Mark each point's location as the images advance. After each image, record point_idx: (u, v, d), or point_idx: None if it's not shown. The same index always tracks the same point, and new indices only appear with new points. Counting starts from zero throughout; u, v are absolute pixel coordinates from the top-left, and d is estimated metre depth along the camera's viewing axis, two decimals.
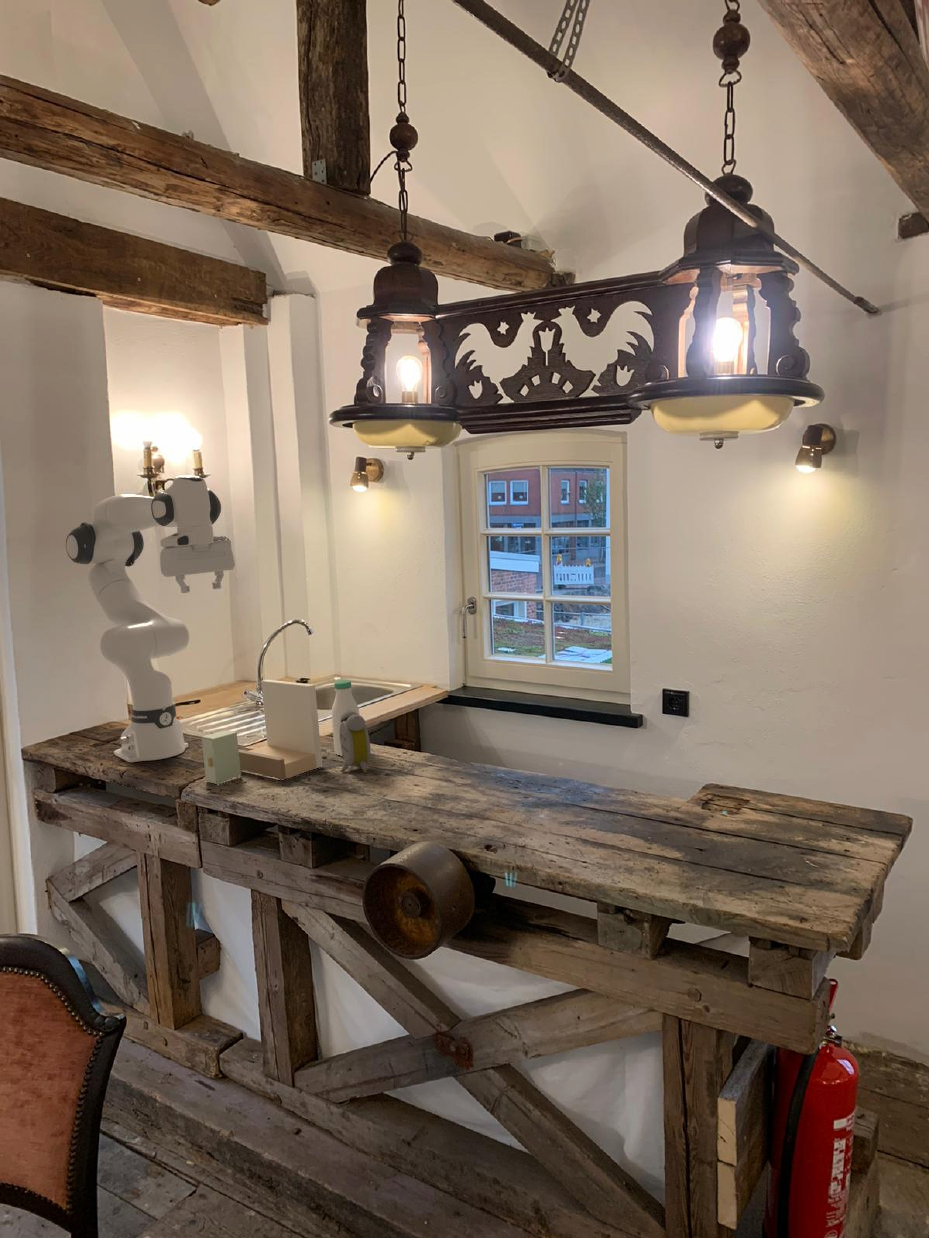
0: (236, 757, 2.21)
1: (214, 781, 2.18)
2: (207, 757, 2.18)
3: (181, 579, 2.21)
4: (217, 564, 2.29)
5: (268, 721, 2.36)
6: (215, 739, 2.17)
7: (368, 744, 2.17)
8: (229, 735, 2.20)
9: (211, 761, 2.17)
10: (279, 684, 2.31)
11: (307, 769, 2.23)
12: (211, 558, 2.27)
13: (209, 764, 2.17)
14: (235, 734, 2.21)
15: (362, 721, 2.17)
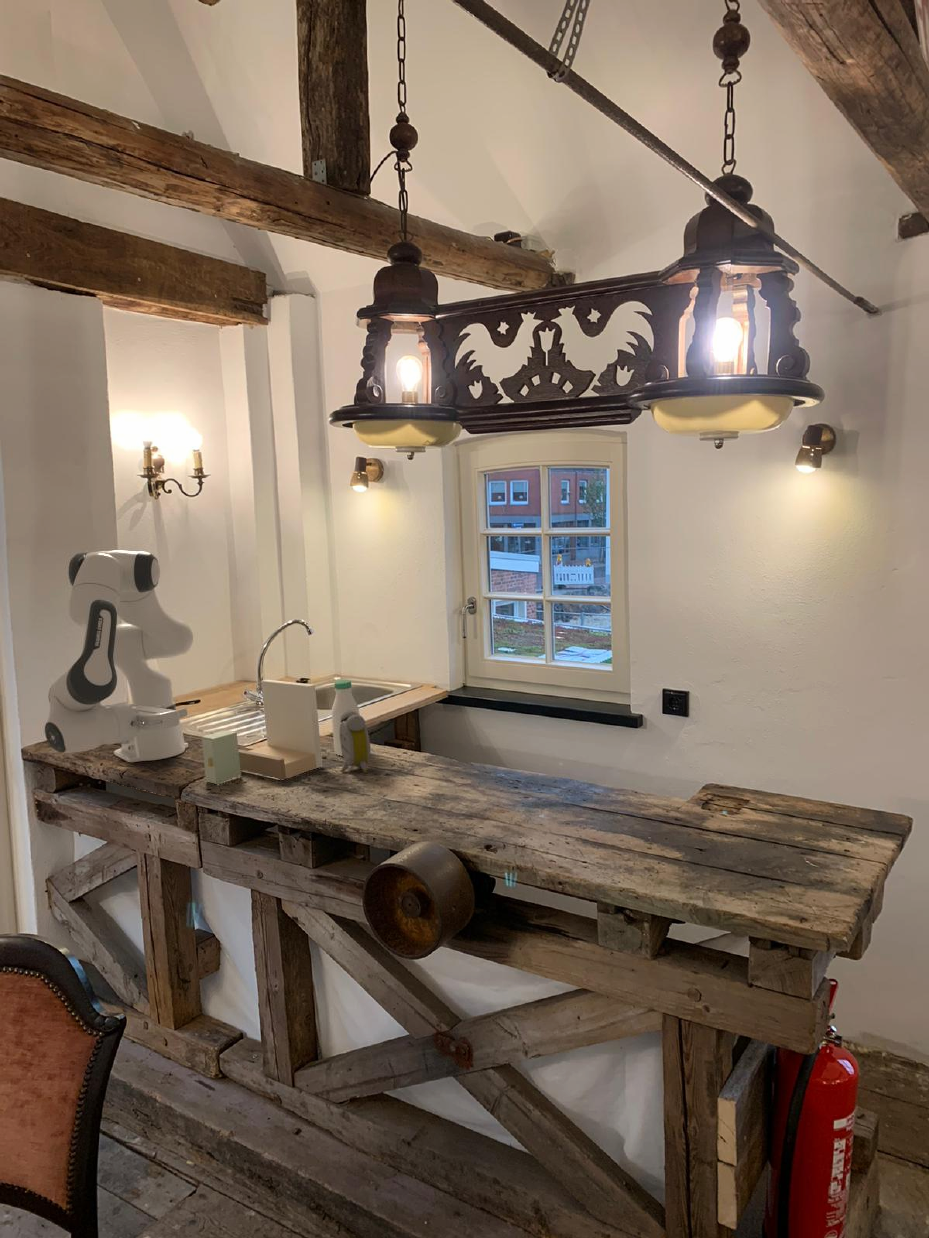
0: (236, 757, 2.21)
1: (214, 781, 2.18)
2: (207, 757, 2.18)
3: None
4: None
5: (268, 721, 2.36)
6: (215, 739, 2.17)
7: (368, 744, 2.17)
8: (229, 735, 2.20)
9: (211, 761, 2.17)
10: (279, 684, 2.31)
11: (307, 769, 2.23)
12: None
13: (209, 764, 2.17)
14: (235, 734, 2.21)
15: (362, 721, 2.17)
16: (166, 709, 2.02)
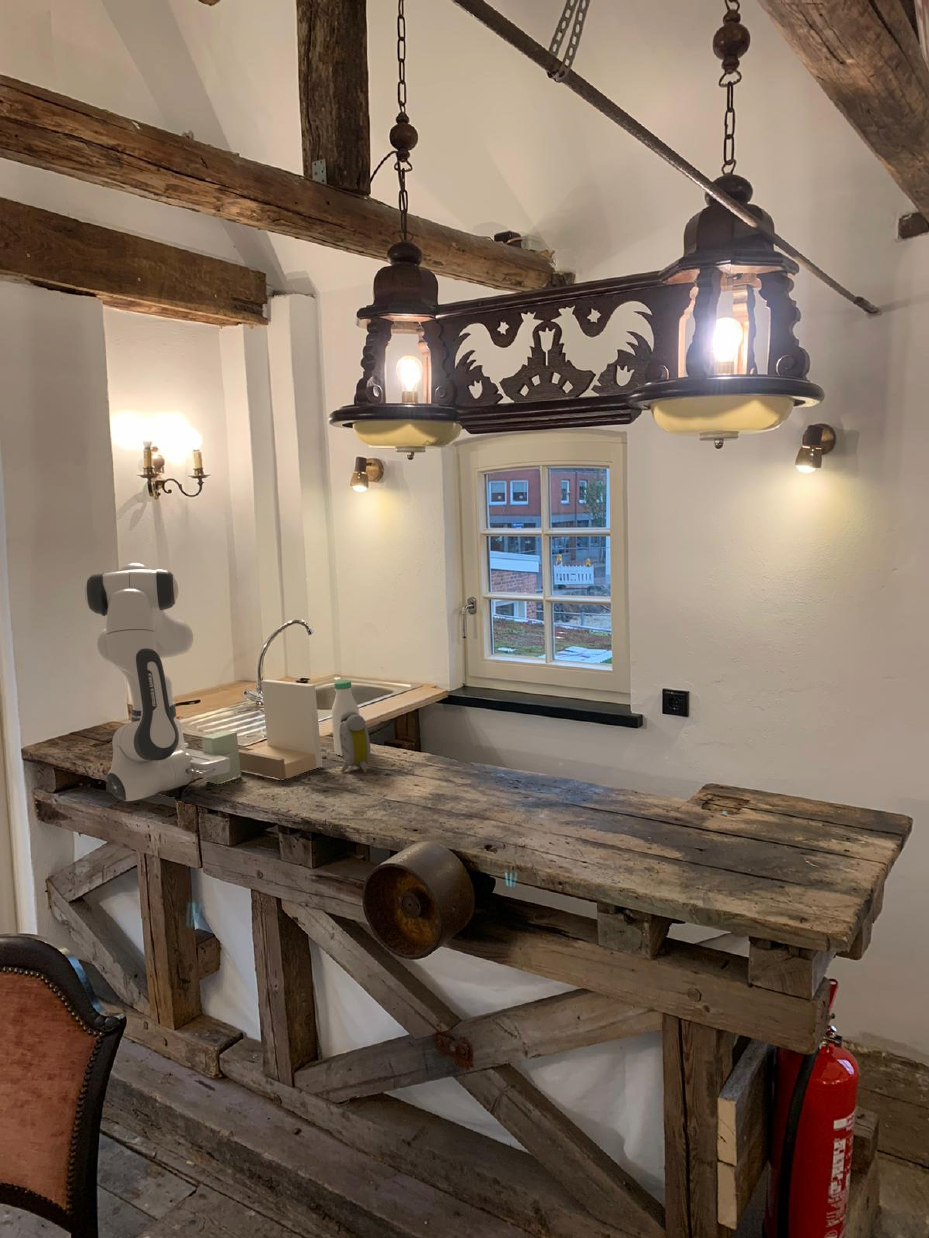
0: (236, 757, 2.21)
1: (214, 781, 2.18)
2: None
3: None
4: None
5: (268, 721, 2.36)
6: (215, 739, 2.17)
7: (368, 744, 2.17)
8: (229, 735, 2.20)
9: None
10: (279, 684, 2.31)
11: (307, 769, 2.23)
12: None
13: None
14: (235, 734, 2.21)
15: (362, 721, 2.17)
16: (218, 756, 2.13)
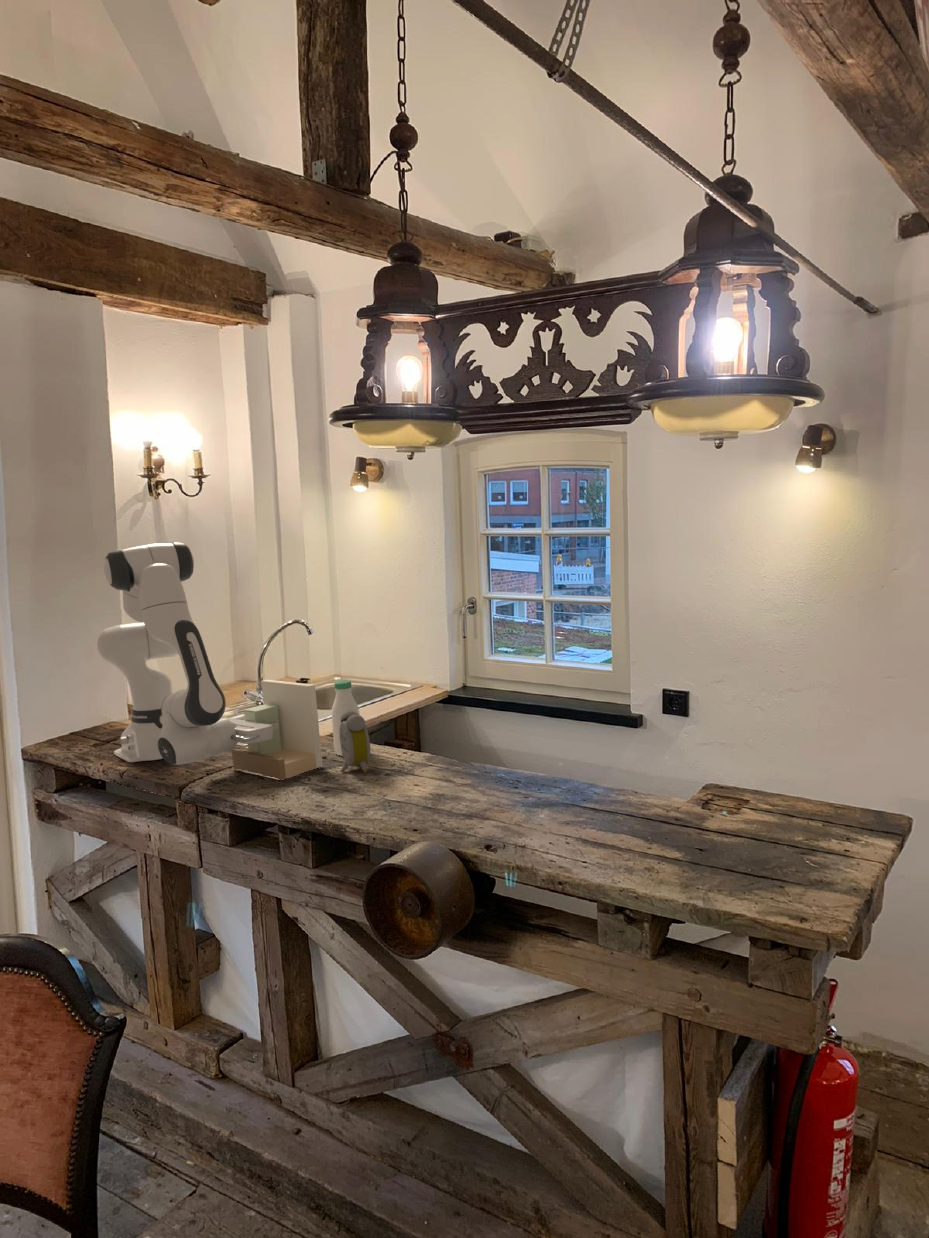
0: (277, 729, 2.31)
1: (256, 752, 2.27)
2: None
3: None
4: None
5: None
6: (257, 711, 2.26)
7: (368, 744, 2.17)
8: (270, 708, 2.29)
9: None
10: (279, 684, 2.31)
11: (307, 769, 2.23)
12: None
13: None
14: (276, 707, 2.31)
15: (362, 721, 2.17)
16: (261, 723, 2.23)
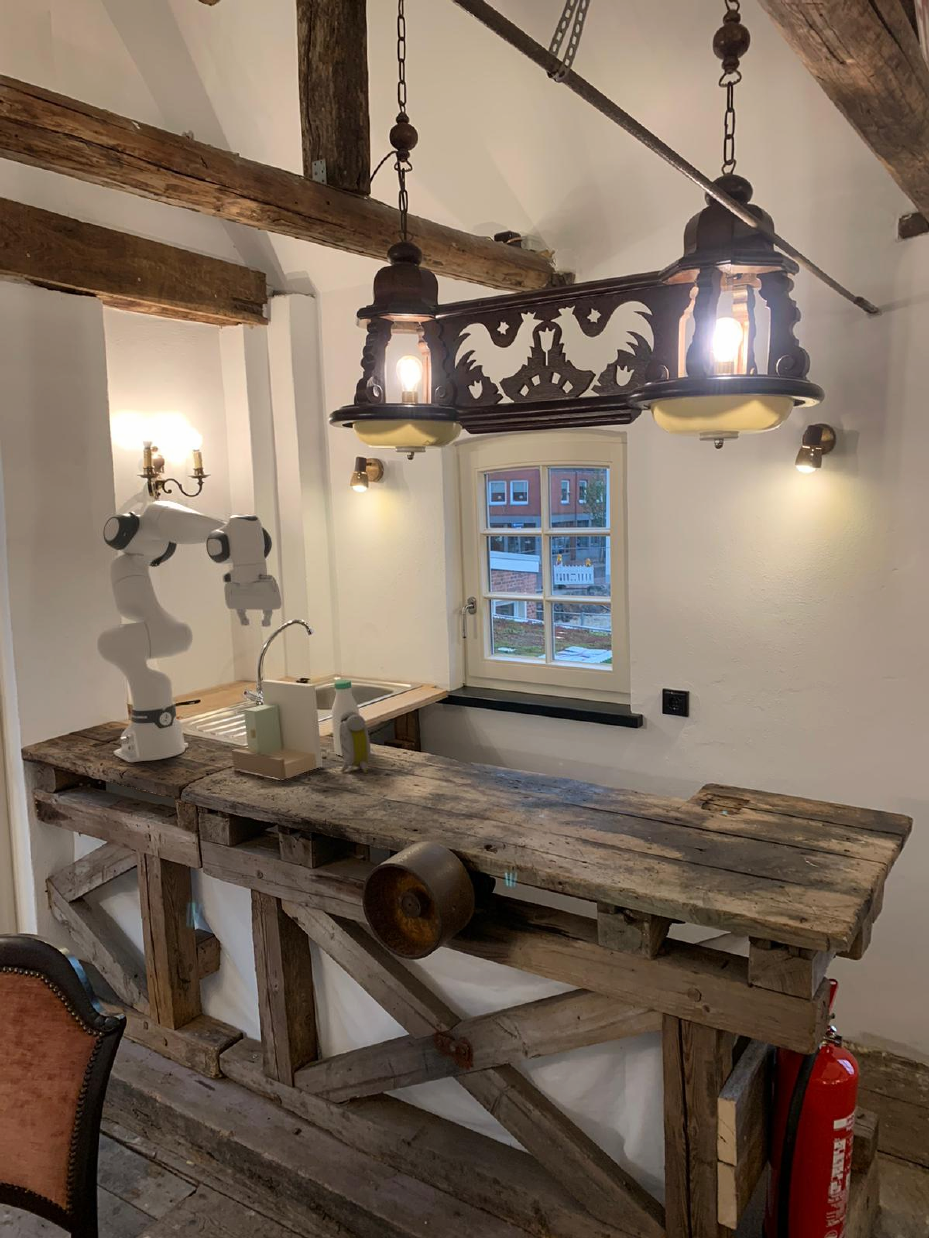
0: (277, 729, 2.31)
1: (256, 752, 2.27)
2: (250, 729, 2.28)
3: (237, 612, 2.37)
4: (257, 603, 2.29)
5: None
6: (257, 711, 2.26)
7: (368, 744, 2.17)
8: (270, 708, 2.29)
9: (254, 733, 2.26)
10: (279, 684, 2.31)
11: (307, 769, 2.23)
12: (253, 596, 2.30)
13: (252, 735, 2.26)
14: (276, 707, 2.31)
15: (362, 721, 2.17)
16: None
